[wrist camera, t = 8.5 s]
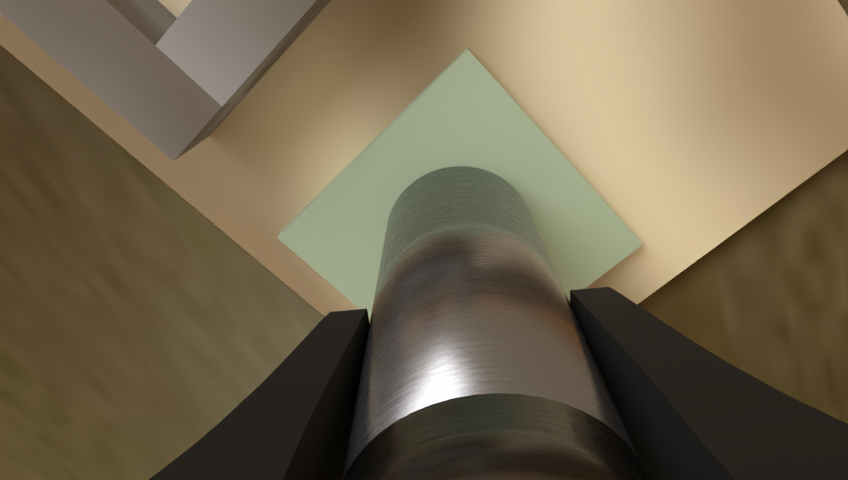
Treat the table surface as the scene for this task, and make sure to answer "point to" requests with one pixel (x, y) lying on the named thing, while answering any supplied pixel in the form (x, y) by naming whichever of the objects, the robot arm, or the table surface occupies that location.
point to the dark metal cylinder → (478, 350)
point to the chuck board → (420, 65)
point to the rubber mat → (447, 147)
